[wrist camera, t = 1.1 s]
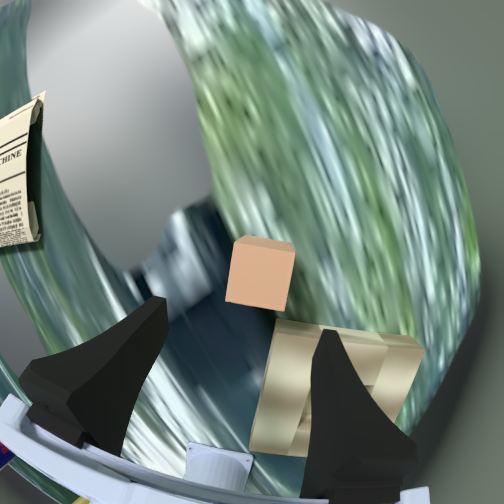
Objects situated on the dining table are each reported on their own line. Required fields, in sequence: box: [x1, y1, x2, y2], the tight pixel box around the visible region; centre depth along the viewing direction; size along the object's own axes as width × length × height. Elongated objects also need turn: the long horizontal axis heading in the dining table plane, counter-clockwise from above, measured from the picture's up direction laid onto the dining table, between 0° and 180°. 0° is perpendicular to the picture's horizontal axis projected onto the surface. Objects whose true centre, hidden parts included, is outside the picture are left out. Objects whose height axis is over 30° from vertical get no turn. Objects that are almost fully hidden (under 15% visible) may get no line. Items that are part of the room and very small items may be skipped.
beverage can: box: [0, 442, 16, 471], centre depth 26 cm, size 6×6×15 cm
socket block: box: [249, 318, 425, 457], centre depth 26 cm, size 14×14×4 cm
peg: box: [225, 235, 296, 311], centre depth 23 cm, size 4×4×7 cm
